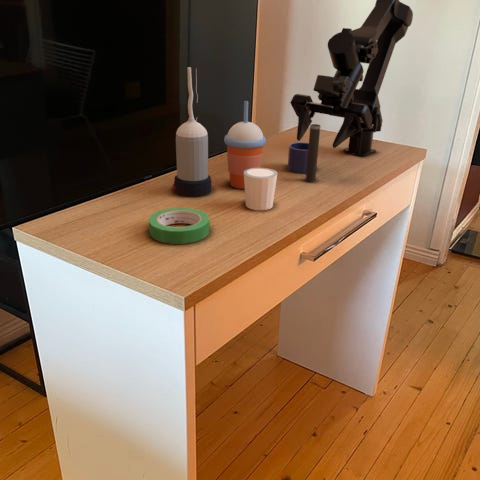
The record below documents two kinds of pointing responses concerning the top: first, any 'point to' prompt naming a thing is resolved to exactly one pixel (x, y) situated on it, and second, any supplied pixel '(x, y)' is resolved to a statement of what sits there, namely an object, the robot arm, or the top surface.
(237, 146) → the cup with straw
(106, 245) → the top surface
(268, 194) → the white tapered cup
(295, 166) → the blue cup
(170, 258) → the top surface
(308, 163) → the gray cylinder
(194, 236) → the tape roll
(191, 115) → the humidifier
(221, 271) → the top surface
